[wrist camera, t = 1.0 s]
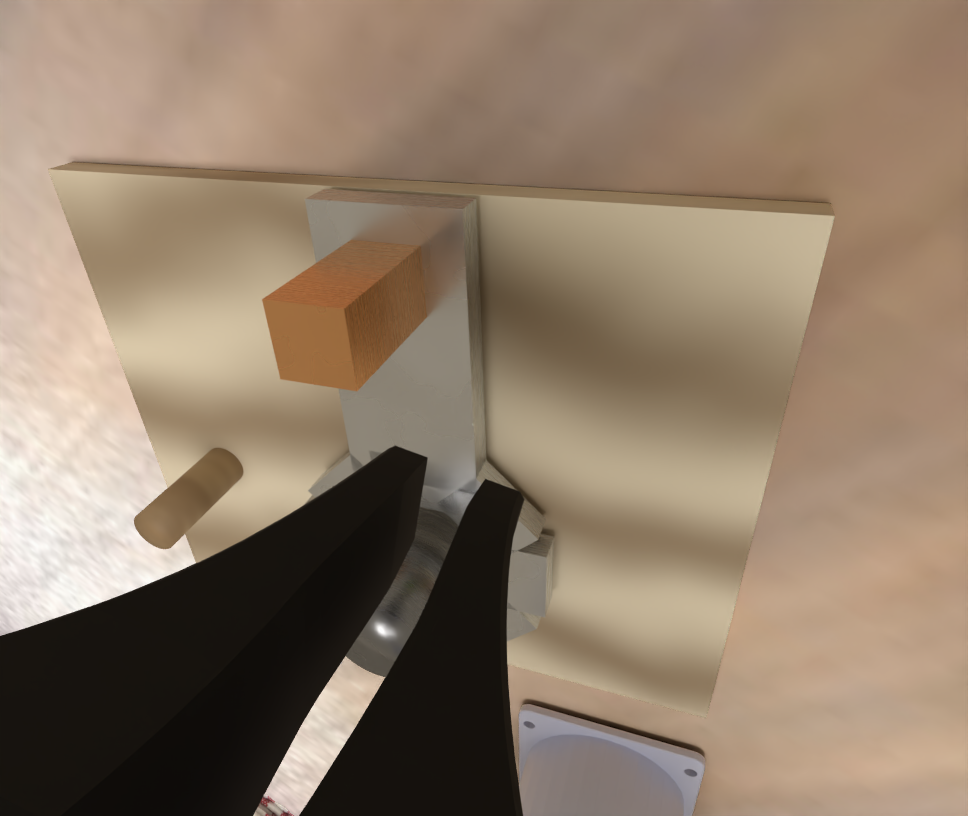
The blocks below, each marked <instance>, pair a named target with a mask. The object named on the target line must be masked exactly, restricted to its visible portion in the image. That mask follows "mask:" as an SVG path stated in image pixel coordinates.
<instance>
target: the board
mask: <svg viewBox="0 0 968 816" xmlns="http://www.w3.org/2000/svg"><path fill="white" fill-rule="evenodd" d="M48 171H49V174H50V177H51V179H52V182H53V185H54V187H55V190H56V193H57V195H58V198H59V200H60V203H61V206H62V208H63V211H64V214H65V216H66V219H67V222H68V224H69V227H70V230H71V232H72V235H73V238H74V240H75V243H76V246H77V248H78V251H79V253H80V256H81V259H82V261H83V264H84V267H85V269H86V272H87V275H88V277H89V280H90V283H91V285H92V288H93V291H94V293H95V296H96V299H97V301H98V304H99V306H100V309H101V312H102V314H103V317H104V320H105V322H106V325H107V328H108V330H109V333H110V336H111V338H112V341H113V344H114V346H115V349H116V352H117V354H118V357H119V360H120V362H121V365H122V367H123V370H124V373H125V375H126V378H127V381H128V383H129V386H130V389H131V391H132V394H133V397H134V399H135V402H136V405H137V407H138V410H139V413H140V415H141V418H142V420H143V423H144V426H145V428H146V431H147V434H148V436H149V439H150V442H151V444H152V447H153V450H154V452H155V455H156V458H157V460H158V463H159V466H160V468H161V471H162V473H163V476H164V479H165V481H166V484H167V487H170V486H171V485H172V484H173V483H174V482H175V481H176V480H177V479H179V478H180V477H181V476H182V475H183V474H184V473H185V472H187V471H188V470H189V469H190V468H191V467H192V466H193V465H194V464H196V463H197V462H198V461H199V460H200V459H201V458H202V457H204V456H205V455H206V454H207V453H208V452H209V451H210V450H211V449H213V448H223V449H226V450H228V451H229V452H231V453H232V454H234V455H235V456H236V457H237V458H238V460H239V461H240V463H241V464H242V467H243V476H242V478H241V479H240V480H239V481H238V482H237V483H236V484H235V485H234V486H233V487H232V488H231V489H230V490H229V491H228V492H226V493H225V494H224V495H223V496H222V497H221V498H220V499H219V500H218V501H217V502H216V503H215V504H214V505H213V506H212V507H211V508H210V509H209V510H208V511H207V512H206V513H205V514H204V515H203V516H202V517H201V518H200V519H199V520H198V521H197V522H196V523H195V524H194V525H193V526H192V527H191V528H190V529H189V530H188V531H187V532H186V533H185V534H186V537H187V540H188V542H189V545H190V548H191V550H192V553H193V556H194V558H195V561H196V563H198V562H200V561H202V560H204V559H206V558H208V557H210V556H212V555H214V554H216V553H219V552H221V551H223V550H225V549H226V548H228V547H230V546H232V545H234V544H236V543H238V542H240V541H242V540H244V539H246V538H247V537H249V536H251V535H253V534H255V533H256V532H258V531H260V530H262V529H264V528H265V527H267V526H269V525H271V524H272V523H274V522H276V521H278V520H280V519H281V518H283V517H285V516H287V515H288V514H290V513H292V512H293V511H295V510H297V509H298V508H300V507H302V506H303V505H304V504H305V503H306V502H307V501H308V499H309V498H310V497H311V496H312V494H311V493H310V492H309V491H308V490H309V489H310V488H311V487H312V485H313V484H314V483H315V482H316V481H317V480H318V478H319V477H320V476H321V475H322V474H323V473H324V472H325V471H326V470H327V469H329V468H330V467H331V466H332V465H333V464H334V463H336V462H337V461H338V460H339V459H340V458H341V457H343V456H344V455H345V454H346V453H347V452H348V451H349V446H348V440H347V434H346V429H345V423H344V417H343V412H342V406H341V401H340V395H339V389H338V388H332V387H326V386H320V385H313V384H307V383H301V382H294V381H288V380H282V379H280V375H279V371H278V367H277V362H276V358H275V354H274V349H273V345H272V341H271V337H270V332H269V328H268V324H267V319H266V315H265V311H264V306H263V302H262V299H263V298H265V297H266V296H268V295H269V294H271V293H272V292H274V291H275V290H277V289H278V288H280V287H281V286H283V285H284V284H286V283H287V282H289V281H290V280H292V279H293V278H295V277H296V276H298V275H299V274H301V273H302V272H304V271H305V270H307V269H308V268H310V267H311V266H313V265H314V264H316V260H315V254H314V249H313V243H312V238H311V232H310V226H309V221H308V215H307V209H306V204H305V198H307V197H309V196H311V195H313V194H315V193H317V192H319V191H321V190H323V189H335V190H351V191H368V192H384V193H401V194H417V195H433V196H450V197H466V198H476V201H477V227H478V253H479V279H480V305H481V331H482V357H483V383H484V409H485V435H486V460H487V461H488V462H489V463H490V464H491V465H492V466H493V467H494V468H495V469H496V470H497V471H498V472H499V473H500V474H501V475H502V476H503V477H504V478H505V479H506V480H507V481H508V482H509V483H510V484H511V485H512V486H513V487H514V488H515V489H516V490H517V491H520V492H521V494H522V496H523V497H524V498H525V499H526V500H527V501H528V502H529V503H530V504H531V505H532V506H533V507H534V508H535V509H536V510H537V511H538V512H539V513H540V514H541V515H542V516H543V517H545V518H546V520H545V523H544V526H543V528H542V531H541V534H544V535H549V536H554V556H553V585H552V598H551V601H550V604H549V607H548V610H547V614H546V617H541V618H540V621H539V624H538V627H537V629H536V630H533V631H531V632H528V633H526V634H524V635H521V636H519V637H517V638H514V639H512V640H510V641H507V664H508V665H511V666H515V667H519V668H522V669H526V670H530V671H533V672H537V673H541V674H544V675H548V676H552V677H555V678H559V679H563V680H566V681H570V682H574V683H577V684H581V685H585V686H588V687H592V688H596V689H599V690H603V691H607V692H611V693H614V694H618V695H622V696H625V697H629V698H633V699H636V700H640V701H644V702H647V703H651V704H655V705H658V706H662V707H666V708H669V709H673V710H677V711H680V712H684V713H688V714H691V715H695V716H699V717H702V718H707V714H708V710H709V706H710V702H711V698H712V694H713V690H714V686H715V682H716V678H717V675H718V671H719V667H720V663H721V659H722V655H723V651H724V647H725V643H726V639H727V636H728V632H729V628H730V624H731V620H732V616H733V612H734V608H735V604H736V600H737V596H738V593H739V589H740V585H741V581H742V577H743V573H744V569H745V565H746V561H747V557H748V553H749V550H750V546H751V542H752V538H753V534H754V530H755V526H756V522H757V518H758V514H759V510H760V507H761V503H762V499H763V495H764V491H765V487H766V483H767V479H768V475H769V471H770V467H771V464H772V460H773V456H774V452H775V448H776V444H777V440H778V436H779V432H780V428H781V425H782V421H783V417H784V413H785V409H786V405H787V401H788V397H789V393H790V389H791V385H792V382H793V378H794V374H795V370H796V366H797V362H798V358H799V354H800V350H801V346H802V342H803V339H804V335H805V331H806V327H807V323H808V319H809V315H810V311H811V307H812V303H813V299H814V296H815V292H816V288H817V284H818V280H819V276H820V272H821V268H822V264H823V260H824V256H825V253H826V249H827V245H828V241H829V237H830V233H831V229H832V225H833V221H834V217H835V215H834V212H833V209H832V206H831V203H814V202H796V201H778V200H759V199H741V198H722V197H704V196H686V195H667V194H649V193H630V192H612V191H594V190H575V189H557V188H538V187H520V186H502V185H483V184H465V183H446V182H428V181H410V180H391V179H373V178H354V177H336V176H318V175H299V174H281V173H262V172H244V171H226V170H207V169H189V168H170V167H152V166H134V165H115V164H97V163H78V162H72V163H68V164H65V165H61V166H58V167H54V168H51V169H48Z"/></svg>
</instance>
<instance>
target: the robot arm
mask: <svg viewBox="0 0 968 816" xmlns="http://www.w3.org/2000/svg"><path fill="white" fill-rule="evenodd" d="M427 460H428V457H425V456H422V455H420V454H417V453H414V452H412V451H409V450H406V449H404V448H401V447H398V446H393V447H391V448H388V449H387V450H386V451H384V452H383V453H381V454H380V455H378V456H377V457H376V458H374V459H373V460H371V461H370V462H369V463H367V464H366V465H364V466H363V467H361V468H360V469H359V470H357V471H356V472H354V473H353V474H351V475H350V476H348V477H347V478H345V479H344V480H342V481H341V482H339V483H338V484H336V485H335V486H333V487H332V488H330V489H329V490H327V491H325V492H324V493H322V494H321V495H319V496H317V497H316V498H314V499H313V500H311V501H309V502H308V503H306V504H305V505H303V506H302V507H300V508H298V509H297V510H295V511H293V512H292V513H290V514H288V515H287V516H285V517H283V518H281V519H280V520H278V521H276V522H274V523H272V524H271V525H269V526H267V527H265V528H264V529H262V530H260V531H258V532H256V533H255V534H253V535H251V536H249V537H247V538H246V539H244V540H242V541H240V542H238V543H236V544H234V545H232V546H230V547H228V548H226V549H225V550H223V551H221V552H219V553H216V554H214V555H212V556H210V557H208V558H206V559H204V560H202V561H200V562H198V563H195V564H193V565H191V566H189V567H187V568H185V569H183V570H180V571H178V572H176V573H174V574H171V575H169V576H166V577H164V578H162V579H159V580H157V581H154V582H152V583H150V584H147V585H145V586H142V587H140V588H138V589H135V590H133V591H130V592H128V593H125V594H123V595H120V596H117V597H115V598H112V599H110V600H107V601H104V602H102V603H99V604H96V605H93V606H90V607H87V608H84V609H81V610H78V611H75V612H72V613H69V614H66V615H64V616H61V617H58V618H55V619H52V620H49V621H46V622H43V623H40V624H37V625H34V626H31V627H28V628H25V629H21V630H18V631H15V632H12V633H8V634H5V635H2V636H0V816H253V815H254V813H255V811H256V809H257V808H258V806H259V804H260V802H261V800H262V798H263V796H264V794H265V792H266V790H267V788H268V786H269V784H270V783H271V781H272V779H273V777H274V775H275V773H276V771H277V769H278V768H279V766H280V764H281V762H282V760H283V758H284V756H285V754H286V753H287V751H288V749H289V747H290V745H291V743H292V741H293V740H294V738H295V736H296V734H297V732H298V730H299V728H300V727H301V725H302V723H303V721H304V720H305V718H306V716H307V715H308V713H309V711H310V710H311V708H312V706H313V705H314V703H315V701H316V700H317V698H318V697H319V695H320V694H321V692H322V691H323V689H324V687H325V686H326V684H327V683H328V681H329V680H330V678H331V677H332V675H333V674H334V672H335V671H336V669H337V668H338V666H339V665H340V663H341V662H342V660H343V659H344V657H345V656H346V654H347V653H348V651H349V650H350V648H351V647H352V645H353V644H354V642H355V641H356V639H357V638H358V636H359V635H360V633H361V632H362V630H363V629H364V627H365V626H366V624H367V623H368V621H369V620H370V618H371V617H372V615H373V613H374V612H375V610H376V609H377V607H378V606H379V604H380V603H381V601H382V600H383V598H384V597H385V595H386V594H387V592H388V590H389V589H390V587H391V585H392V583H393V581H394V579H395V577H396V575H397V573H398V571H399V569H400V567H401V565H402V563H403V561H404V559H405V557H406V555H407V553H408V551H409V549H410V547H411V545H412V543H413V541H414V539H415V533H416V527H417V521H418V515H419V509H420V503H421V497H422V491H423V485H424V479H425V472H426V466H427ZM523 503H524V497H523V496H522V494H521V492H520V491H517V490H514V489H512V488H509V487H506V486H504V485H501V484H498V483H496V482H493V481H490V480H487V479H485V480H484V481H483V483H482V484H481V486H480V487H479V489H478V490H477V491H476V493H475V495H474V496H473V498H472V499H471V501H470V502H469V504H468V506H467V507H466V510H465V512H464V514H463V517H462V519H461V521H460V524H459V526H458V529H457V531H456V533H455V536H454V538H453V540H452V543H451V545H450V548H449V550H448V552H447V555H446V557H445V560H444V562H443V565H442V567H441V569H440V572H439V574H438V577H437V579H436V581H435V584H434V586H433V589H432V591H431V593H430V596H429V598H428V601H427V603H426V605H425V607H424V609H423V611H422V613H421V615H420V617H419V620H418V622H417V624H416V626H415V628H414V629H413V631H412V633H411V634H410V636H409V638H408V640H407V641H406V643H405V645H404V647H403V648H402V650H401V652H400V654H399V655H398V657H397V659H396V660H395V662H394V664H393V666H392V667H391V669H390V671H389V673H388V674H387V676H386V678H385V679H384V681H383V683H382V684H381V686H380V688H379V689H378V691H377V693H376V694H375V696H374V698H373V699H372V701H371V703H370V704H369V706H368V708H367V709H366V711H365V713H364V714H363V716H362V718H361V719H360V721H359V722H358V724H357V726H356V727H355V729H354V731H353V732H352V734H351V735H350V737H349V739H348V740H347V742H346V743H345V745H344V747H343V748H342V750H341V751H340V753H339V754H338V756H337V758H336V759H335V761H334V762H333V764H332V766H331V767H330V769H329V770H328V772H327V773H326V775H325V777H324V778H323V780H322V781H321V783H320V785H319V786H318V788H317V789H316V791H315V793H314V794H313V796H312V797H311V799H310V800H309V802H308V803H307V805H306V806H305V808H304V809H303V811H302V812H301V814H300V815H299V816H692V815H693V811H694V807H695V804H696V800H697V796H698V793H699V789H700V785H701V782H702V778H703V774H704V771H705V758H704V757H703V756H702V755H701V754H699V753H698V752H695V751H692V750H688V749H685V748H681V747H678V746H674V745H671V744H667V743H664V742H660V741H657V740H653V739H650V738H647V737H643V736H640V735H636V734H633V733H629V732H626V731H622V730H619V729H615V728H612V727H608V726H605V725H601V724H598V723H594V722H591V721H587V720H584V719H580V718H577V717H573V716H570V715H566V714H563V713H559V712H556V711H552V710H549V709H545V708H542V707H538V706H535V705H531V704H524V705H522V706H521V709H520V712H519V783H518V777H517V770H516V763H515V755H514V745H513V735H512V725H511V715H510V701H509V688H508V667H507V599H508V581H509V567H510V557H511V550H512V543H513V537H514V533H515V530H516V526H517V523H518V520H519V516H520V513H521V510H522V506H523Z"/></svg>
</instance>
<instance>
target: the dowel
mask: <svg viewBox="0 0 968 816" xmlns="http://www.w3.org/2000/svg"><path fill="white" fill-rule="evenodd" d="M242 476H243V467H242V464H241V463H240V461H239V460H238V458H237V457H236V456H235V455H234V454H232V453H231V452H229V451H228V450H226V449H223V448H213V449H211V450H210V451H209V452H208V453H207V454H206V455H205V456H204V457H202V458H201V459H200V460H199V461H198V462H197V463H196V464H194V465H193V466H192V467H191V468H190V469H189V470H188V471H187V472H185V473H184V474H183V475H182V476H181V477H180V478H179V479H177V480H176V481H175V482H174V483H173V484H172V485H171V486H170V487H168V488H167V489H166V490H165V491H164V492H163V493H162V494H161V495H159V496H158V497H157V498H156V499H155V500H154V501H153V502H151V503H150V504H149V505H148V506H147V507H146V508H145V509H144V510H142V511H141V512H140V513H139V514H138V515H137V516H136V517H135V519H134V524H135V527H136V529H137V531H138V532H139V534H140V535H141V536H142V537H143V538H144V539H145V540H146V541H147V542H149V543H150V544H152V545H153V546H155V547H158V548H161V549H169V548H171V547H172V546H173V545H174V544H175V543H176V542H177V541H178V540H179V539H180V538H181V537H182V536H183V535H184V534H185V533H186V532H187V531H188V530H189V529H190V528H191V527H192V526H193V525H194V524H195V523H196V522H197V521H198V520H199V519H200V518H201V517H202V516H203V515H204V514H205V513H206V512H207V511H208V510H209V509H210V508H211V507H212V506H213V505H214V504H215V503H216V502H217V501H218V500H219V499H220V498H221V497H222V496H223V495H224V494H225V493H226V492H228V491H229V490H230V489H231V488H232V487H233V486H234V485H235V484H236V483H237V482H238V481H239V480H240V479H241V478H242Z"/></svg>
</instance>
